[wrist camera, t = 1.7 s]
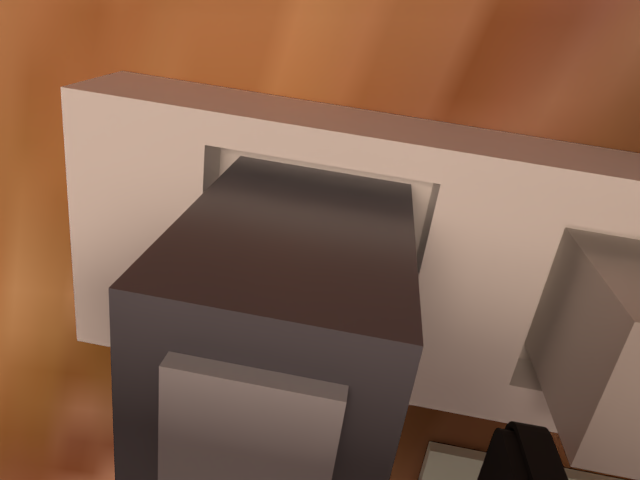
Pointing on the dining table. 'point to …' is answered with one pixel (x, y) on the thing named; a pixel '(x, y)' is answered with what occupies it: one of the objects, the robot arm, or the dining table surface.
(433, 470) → the felt pad
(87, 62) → the dining table surface
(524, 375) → the power strip
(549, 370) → the small plug
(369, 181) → the block
